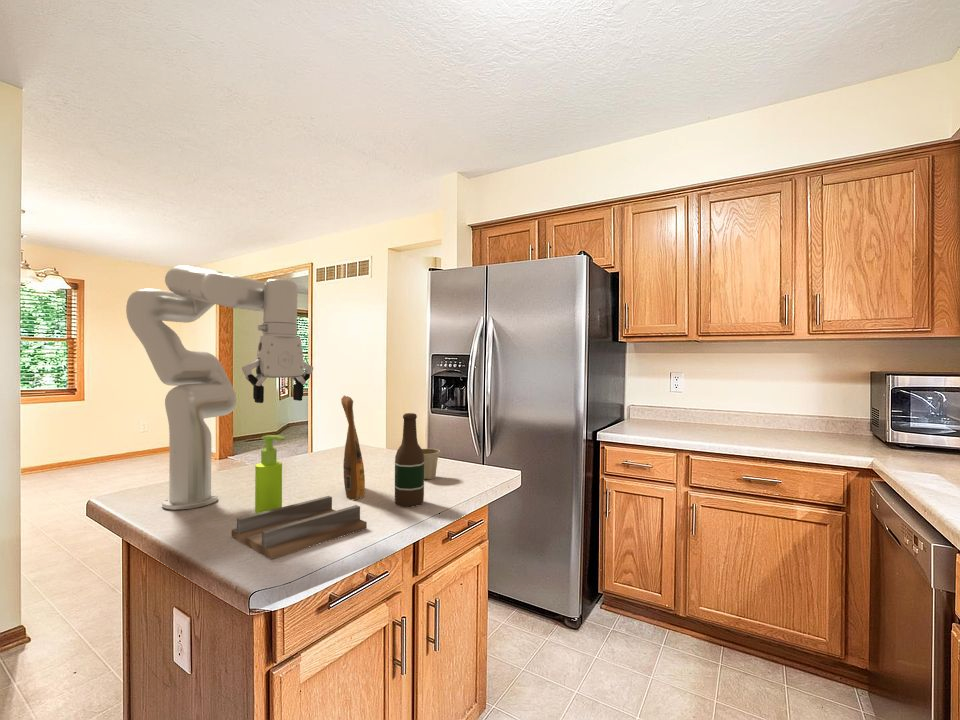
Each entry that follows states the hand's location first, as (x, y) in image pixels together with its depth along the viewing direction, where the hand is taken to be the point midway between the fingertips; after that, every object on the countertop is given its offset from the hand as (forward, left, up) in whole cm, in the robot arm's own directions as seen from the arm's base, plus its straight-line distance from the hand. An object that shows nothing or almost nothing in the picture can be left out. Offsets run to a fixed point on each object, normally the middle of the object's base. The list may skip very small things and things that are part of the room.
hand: (278, 401), depth 114 cm
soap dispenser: (0, -2, -28) cm, 28 cm away
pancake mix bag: (-4, +24, -28) cm, 38 cm away
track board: (+14, -2, -28) cm, 31 cm away
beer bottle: (+16, +28, -28) cm, 43 cm away
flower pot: (-1, +50, -28) cm, 58 cm away
